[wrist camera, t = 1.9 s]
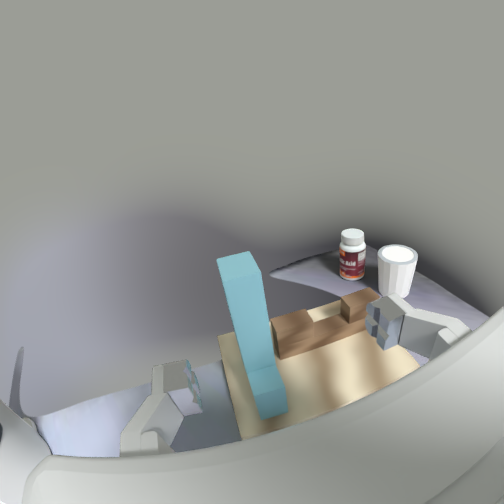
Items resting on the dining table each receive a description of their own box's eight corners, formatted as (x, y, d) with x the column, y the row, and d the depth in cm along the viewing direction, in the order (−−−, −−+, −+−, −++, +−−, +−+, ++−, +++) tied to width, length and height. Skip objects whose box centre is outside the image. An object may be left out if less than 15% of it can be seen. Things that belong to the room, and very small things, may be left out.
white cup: (420, 291, 41) (426, 255, 38) (393, 307, 40) (399, 269, 36) (393, 274, 47) (396, 240, 44) (367, 287, 45) (369, 251, 42)
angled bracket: (261, 420, 26) (228, 303, 19) (241, 357, 34) (212, 246, 27) (288, 412, 26) (271, 292, 19) (264, 351, 35) (242, 238, 28)
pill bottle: (334, 276, 50) (333, 234, 47) (348, 265, 53) (348, 225, 49) (355, 284, 47) (357, 241, 43) (369, 272, 49) (370, 231, 46)
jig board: (243, 442, 25) (230, 415, 22) (219, 343, 40) (208, 308, 37) (417, 373, 28) (430, 336, 25) (354, 302, 43) (355, 267, 40)
